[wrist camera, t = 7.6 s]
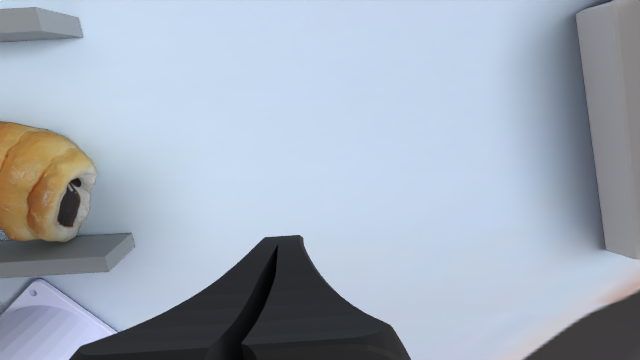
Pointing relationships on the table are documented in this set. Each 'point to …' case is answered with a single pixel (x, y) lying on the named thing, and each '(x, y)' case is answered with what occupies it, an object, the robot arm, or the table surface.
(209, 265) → the table surface
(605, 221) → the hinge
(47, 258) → the chute dock
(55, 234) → the pastry
